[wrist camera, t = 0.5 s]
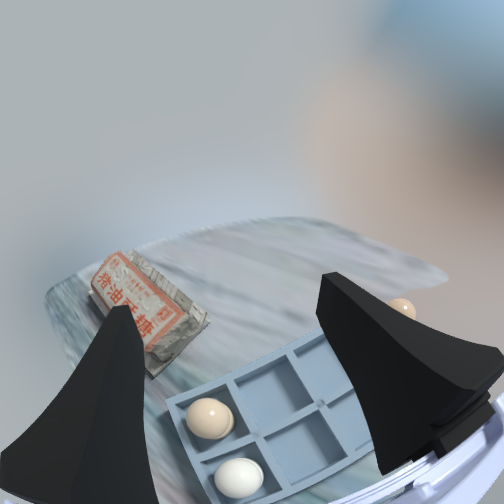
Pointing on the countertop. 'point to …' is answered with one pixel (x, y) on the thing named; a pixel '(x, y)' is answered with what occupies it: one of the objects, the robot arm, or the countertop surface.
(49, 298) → the countertop surface
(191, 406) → the seated egg
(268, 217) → the countertop surface
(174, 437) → the countertop surface
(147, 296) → the packaged product
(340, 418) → the egg carton
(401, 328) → the robot arm
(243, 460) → the seated egg
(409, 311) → the loose egg
